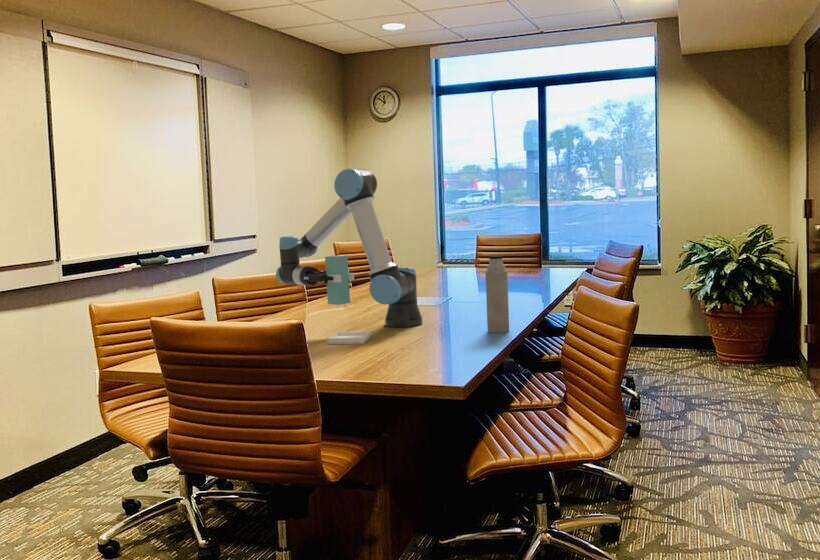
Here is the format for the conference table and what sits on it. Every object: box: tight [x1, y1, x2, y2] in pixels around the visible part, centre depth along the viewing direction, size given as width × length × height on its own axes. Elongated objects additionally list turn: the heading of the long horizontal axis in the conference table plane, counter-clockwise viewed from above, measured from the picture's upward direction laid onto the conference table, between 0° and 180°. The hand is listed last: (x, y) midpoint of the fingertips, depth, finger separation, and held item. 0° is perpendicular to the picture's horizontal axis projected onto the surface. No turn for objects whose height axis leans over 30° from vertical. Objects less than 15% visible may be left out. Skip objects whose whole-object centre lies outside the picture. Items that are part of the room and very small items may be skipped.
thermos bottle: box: [485, 255, 510, 334], centre depth 274 cm, size 8×8×28 cm
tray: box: [326, 330, 373, 345], centre depth 271 cm, size 13×13×2 cm
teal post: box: [324, 255, 351, 306], centre depth 283 cm, size 6×6×18 cm
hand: (346, 277), depth 279 cm, fingers closed on teal post, 6 cm apart
